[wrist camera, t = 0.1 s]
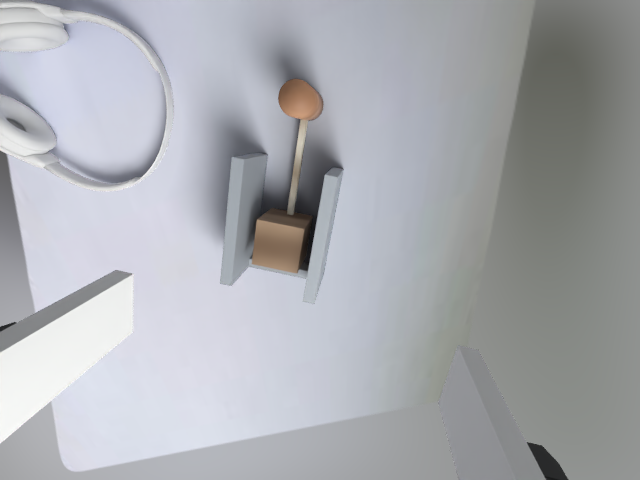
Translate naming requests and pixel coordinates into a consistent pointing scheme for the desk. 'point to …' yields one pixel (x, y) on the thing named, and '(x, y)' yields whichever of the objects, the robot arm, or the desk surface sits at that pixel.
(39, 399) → the robot arm
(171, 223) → the desk surface
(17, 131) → the headphones
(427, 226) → the desk surface
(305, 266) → the lane
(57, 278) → the desk surface
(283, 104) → the tethered block
